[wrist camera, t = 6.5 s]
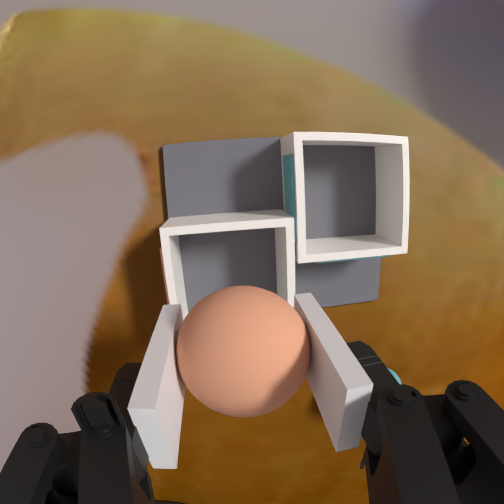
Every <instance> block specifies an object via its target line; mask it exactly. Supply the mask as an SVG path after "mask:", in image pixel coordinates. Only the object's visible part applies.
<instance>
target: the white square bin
mask: <svg viewBox="0 0 504 504" xmlns="http://www.w3.org/2000/svg"><path fill="white" fill-rule="evenodd" d="M280 143H281V161H282V182H283V204H284V212H286V213H287V214H289V215H290V216H292V217H294V239H295V260H296V261H297V263H298V264H299V263H310V262H316V263H327V262H338V261H348V260H358V259H368V258H378V257H388V256H389V255H393V254H403V253H407V247H408V228H409V148H408V137H402V136H391V135H377V134H361V133H337V132H292V133H290V134H288V135H286V136H284V137H282V138H280ZM303 145H346V146H373V147H375V168H376V233H375V234H373V235H359V236H345V237H331V238H318V239H306V218H305V186H304V163H303Z"/></svg>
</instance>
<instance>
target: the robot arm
mask: <svg viewBox="0 0 504 504" xmlns="http://www.w3.org/2000/svg"><path fill="white" fill-rule="evenodd" d="M294 309H295V310H296V311H297V313H298V314H299V316H300V317H301V319H302V321H303V322H304V324H305V327H306V330H307V332H308V335H309V341H310V353H311V355H310V362H309V367H308V371H307V374H306V378H307V381H308V383H309V386H310V388H311V391H312V393H313V396H314V398H315V401H316V403H317V405H318V408H319V410H320V413H321V415H322V418H323V420H324V423H325V425H326V428H327V430H328V433H329V435H330V438H331V440H332V443H333V445H334V448H335V450H336V452H339V451H343V450H347V449H351V448H355V447H359V444H360V440H361V436H362V437H363V439H364V441H365V443H366V448H365V451H364V455H363V458H362V461H361V465H360V469H362V468H364V465H365V466H366V475H367V484H368V493H369V504H504V410H503V409H502V408H501V407H500V406H499V405H498V404H497V403H496V402H495V401H494V400H493V399H492V398H491V397H490V396H489V395H488V394H487V393H486V392H485V391H484V390H483V389H482V388H481V387H480V386H478V385H477V384H475V383H473V382H471V381H467V380H458V381H454V382H452V383H451V384H449V385H448V387H447V388H446V391H445V394H442V395H429V396H422V395H421V394H420V392H419V391H418V390H416V389H415V388H413V387H411V386H408V385H403V384H399V383H398V381H397V380H396V379H395V377H394V376H393V375H392V374H391V372H390V371H389V370H388V368H387V367H386V366H385V365H384V363H382V361H381V359H380V358H379V357H378V356H377V354H376V353H375V352H374V351H373V349H372V348H371V347H370V346H368V345H367V344H365V343H363V342H361V341H356V342H350V343H345V341H344V340H343V338H342V337H341V335H340V334H339V332H338V331H337V330H336V328H335V327H334V325H333V324H332V322H331V321H330V319H329V318H328V317H327V315H326V314H325V312H324V311H323V309H322V308H321V306H320V305H319V304H318V302H317V301H316V299H315V298H314V296H313V295H312V294H311V293H303V294H294ZM182 322H183V317H182V311H181V304H172V305H163V307H162V310H161V313H160V315H159V318H158V321H157V323H156V326H155V329H154V332H153V334H152V337H151V340H150V343H149V345H148V348H147V351H146V354H145V357H144V360H143V363H126V364H125V365H124V366H123V367H121V368H120V369H119V370H118V372H117V374H116V376H115V378H114V382H113V383H112V386H111V389H110V390H109V393H108V394H107V393H104V392H93V393H88V394H85V395H83V396H81V397H80V398H78V399H77V400H76V401H75V402H74V403H73V406H72V408H71V410H72V412H73V414H74V416H75V418H76V420H77V422H78V424H79V426H80V428H81V430H82V431H77V432H71V433H63V434H59V433H58V432H57V430H56V429H55V428H54V427H53V426H52V425H50V424H48V423H36V424H33V425H31V426H29V427H27V428H26V429H25V430H24V431H23V432H22V434H21V435H20V437H19V439H18V441H17V442H16V444H15V446H14V448H13V450H12V452H11V453H10V455H9V457H8V459H7V461H6V463H5V465H4V467H3V469H2V471H1V473H0V504H181V503H174V502H163V501H155V500H154V494H153V489H152V484H151V478H150V476H149V474H148V472H147V465H148V459H149V461H150V463H151V465H152V467H153V468H161V469H177V460H178V450H179V440H180V430H181V420H182V411H183V403H184V394H185V386H186V385H185V383H184V382H183V379H182V377H181V375H180V372H179V369H178V366H177V359H176V342H177V336H178V333H179V330H180V327H181V325H182ZM465 438H466V439H467V441H468V442H469V443H470V444H467V443H466V442H465V441H464V439H465Z"/></svg>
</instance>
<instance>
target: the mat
mask: <svg viewBox="0 0 504 504" xmlns="http://www.w3.org/2000/svg"><path fill="white" fill-rule="evenodd" d="M280 138H282V137H265V138H242V139H225V140H211V141H199V142H188V143H178V144H169V145H163V160H164V174H165V187H166V199H167V210H168V219H169V218H173V217H184V216H196V215H208V214H220V213H233V212H247V211H262V210H278V209H281V210H283V211H284V204H283V182H282V161H281V143H280ZM303 163H304V186H305V218H306V239H318V238H331V237H345V236H359V235H373V234H375V233H376V168H375V147H373V146H346V145H303ZM179 245H180V253H181V262H182V270H183V278H184V286H185V293H186V301H187V308H188V313H189V312H190V310H191V309H192V308H193V307H194V306H195V305H196V304H197V303H198V302H199V301H200V300H202V299H203V298H204V297H206V296H207V295H209V294H211V293H213V292H215V291H217V290H220V289H223V288H227V287H231V286H254V287H259V288H263V289H265V290H268V291H271V292H273V293H275V294H277V276H276V248H275V228H260V229H247V230H234V231H221V232H208V233H196V234H184V235H179ZM380 264H381V257H378V258H368V259H358V260H348V261H338V262H327V263H316V262H310V263H299V264H298V263H297V261H296V260H295V294H303V293H311V294H312V295H313V296H314V298H315V299H316V301H317V302H318V304H319V305H320V306H321V308H322V307H329V306H337V305H344V304H351V303H358V302H365V301H372V300H378V291H379V279H380Z"/></svg>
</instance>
